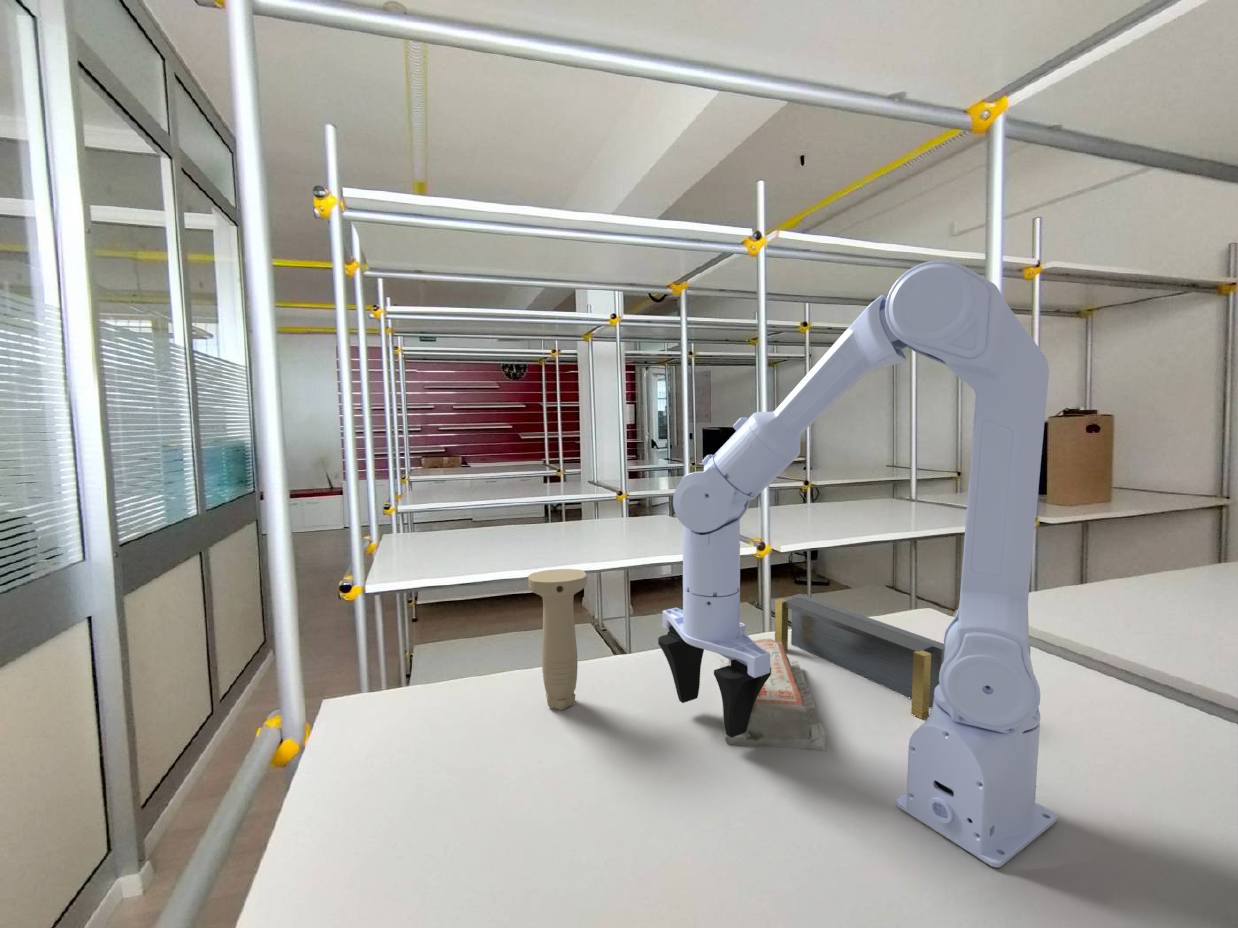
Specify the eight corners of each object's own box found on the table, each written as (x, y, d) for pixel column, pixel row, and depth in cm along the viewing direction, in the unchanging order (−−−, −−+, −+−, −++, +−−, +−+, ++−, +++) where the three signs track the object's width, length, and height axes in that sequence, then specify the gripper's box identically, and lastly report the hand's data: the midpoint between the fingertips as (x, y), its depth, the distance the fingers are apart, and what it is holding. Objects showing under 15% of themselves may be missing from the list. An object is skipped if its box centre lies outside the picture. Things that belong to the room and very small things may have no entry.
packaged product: (830, 708, 55) (725, 702, 56) (829, 755, 55) (725, 749, 57) (797, 634, 73) (718, 631, 74) (797, 670, 73) (718, 667, 74)
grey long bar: (922, 719, 61) (924, 656, 60) (774, 649, 79) (775, 599, 78) (947, 706, 63) (950, 645, 62) (799, 641, 81) (799, 593, 80)
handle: (531, 696, 67) (527, 571, 65) (585, 690, 68) (583, 567, 66) (533, 718, 62) (529, 584, 60) (592, 711, 63) (589, 579, 62)
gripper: (794, 600, 54) (792, 737, 55) (697, 565, 66) (697, 677, 67) (738, 615, 50) (737, 761, 51) (646, 575, 63) (647, 693, 64)
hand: (711, 715), depth 59 cm, fingers open, 7 cm apart
